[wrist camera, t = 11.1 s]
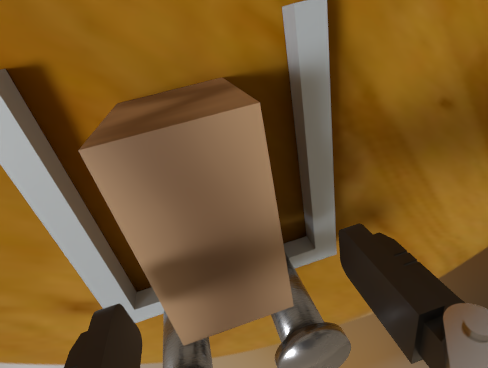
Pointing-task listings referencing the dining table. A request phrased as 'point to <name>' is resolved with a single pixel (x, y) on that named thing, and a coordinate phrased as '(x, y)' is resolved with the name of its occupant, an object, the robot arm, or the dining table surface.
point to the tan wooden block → (196, 203)
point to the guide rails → (84, 226)
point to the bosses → (290, 332)
